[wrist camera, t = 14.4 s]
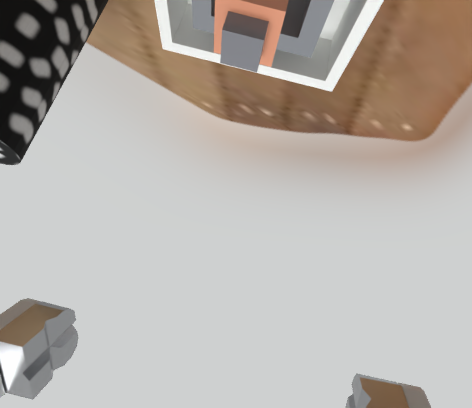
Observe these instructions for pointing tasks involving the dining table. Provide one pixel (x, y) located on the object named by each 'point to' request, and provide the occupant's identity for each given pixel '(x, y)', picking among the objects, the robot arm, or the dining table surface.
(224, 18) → the connector
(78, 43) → the spotted tube
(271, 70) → the walled box
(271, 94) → the dining table surface
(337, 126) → the dining table surface
